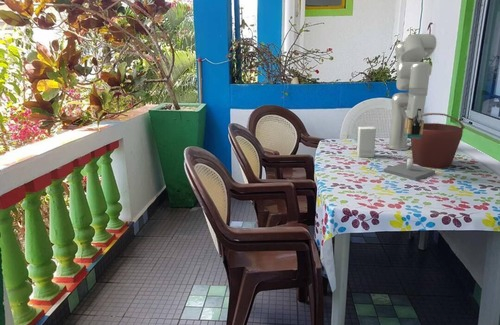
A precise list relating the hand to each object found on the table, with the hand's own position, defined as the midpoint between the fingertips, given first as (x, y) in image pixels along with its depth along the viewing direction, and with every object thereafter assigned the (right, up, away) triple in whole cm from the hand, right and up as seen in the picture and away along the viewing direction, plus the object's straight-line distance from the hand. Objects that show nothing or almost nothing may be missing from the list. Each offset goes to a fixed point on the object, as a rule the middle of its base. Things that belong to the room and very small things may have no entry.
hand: (413, 132), depth 170 cm
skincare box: (-11, -10, +34) cm, 38 cm away
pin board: (0, -18, +5) cm, 19 cm away
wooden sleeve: (0, -2, +1) cm, 2 cm away
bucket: (+17, -14, +20) cm, 30 cm away
